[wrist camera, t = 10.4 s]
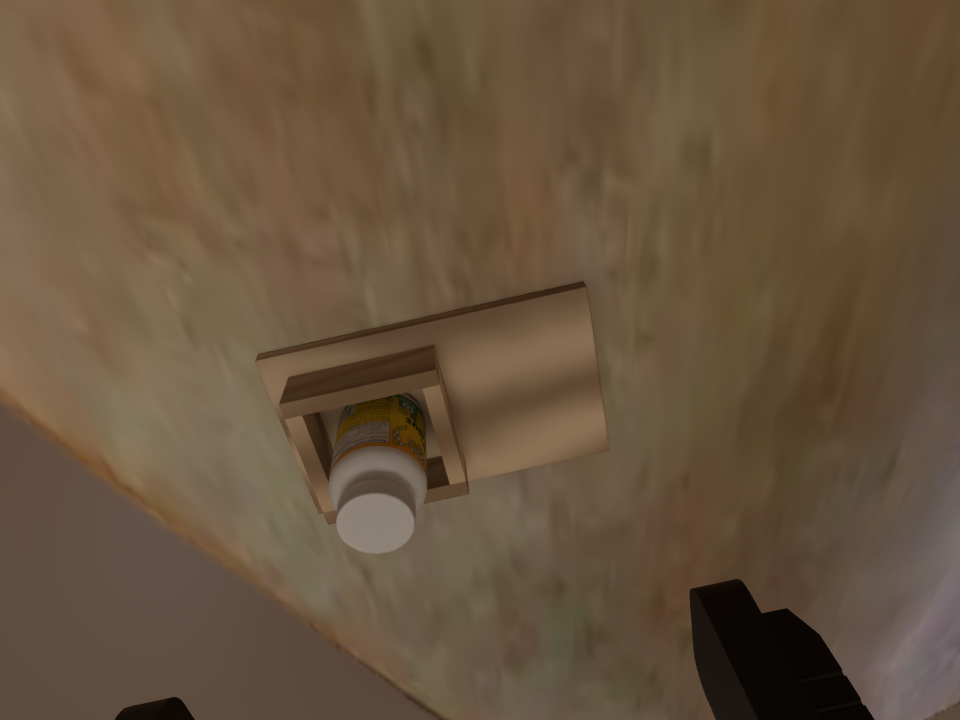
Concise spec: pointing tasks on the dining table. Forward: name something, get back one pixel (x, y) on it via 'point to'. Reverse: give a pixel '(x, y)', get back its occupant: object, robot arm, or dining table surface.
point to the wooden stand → (453, 389)
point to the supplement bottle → (379, 472)
